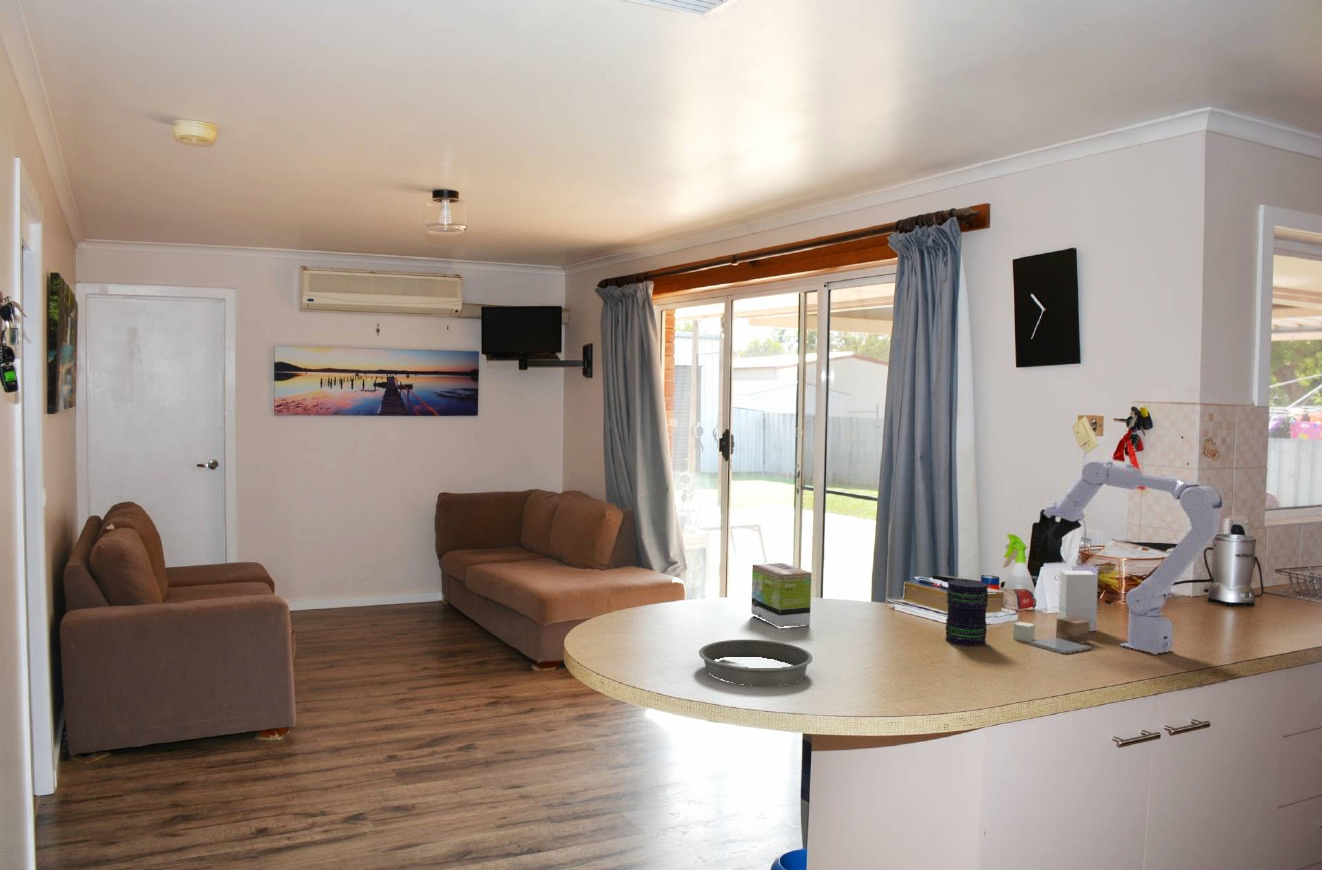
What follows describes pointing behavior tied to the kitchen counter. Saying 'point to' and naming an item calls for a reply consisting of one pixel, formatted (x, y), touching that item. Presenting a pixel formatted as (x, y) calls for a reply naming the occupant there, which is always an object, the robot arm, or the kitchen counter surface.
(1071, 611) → the skincare box
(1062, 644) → the coaster
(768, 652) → the cake pan
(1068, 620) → the walnut block
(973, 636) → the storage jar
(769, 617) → the tea box
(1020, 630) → the sage block
